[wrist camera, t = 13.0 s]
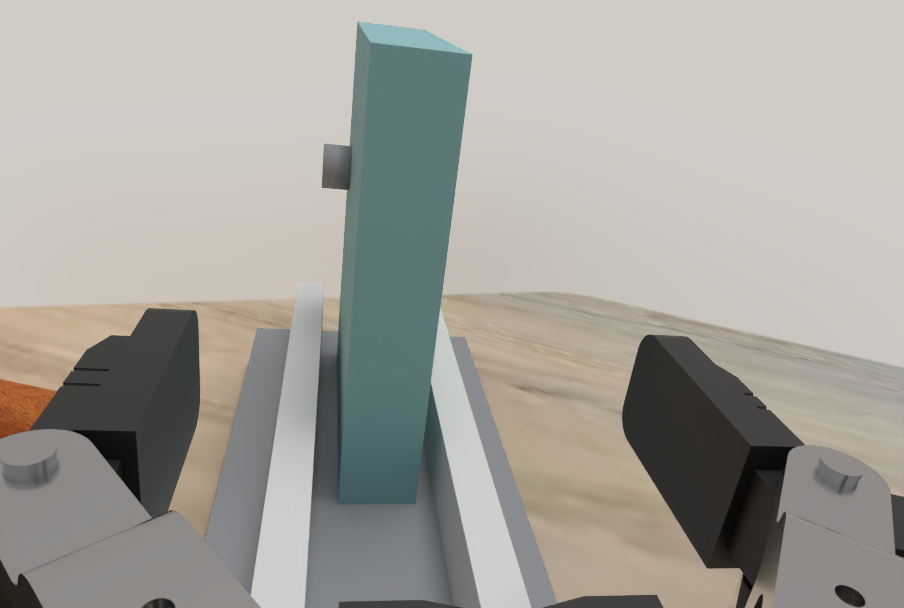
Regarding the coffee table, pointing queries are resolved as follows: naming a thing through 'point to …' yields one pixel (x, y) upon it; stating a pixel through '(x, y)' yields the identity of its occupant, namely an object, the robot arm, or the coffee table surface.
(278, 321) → the coffee table surface
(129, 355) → the robot arm
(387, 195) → the door panel
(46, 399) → the kendama
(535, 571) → the track board
